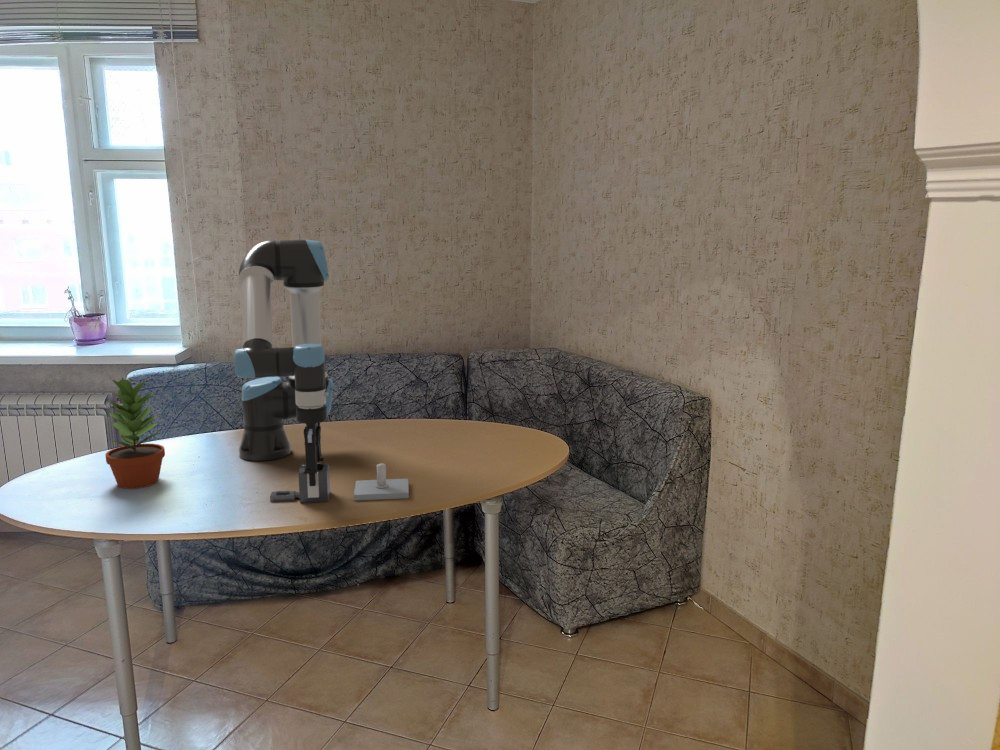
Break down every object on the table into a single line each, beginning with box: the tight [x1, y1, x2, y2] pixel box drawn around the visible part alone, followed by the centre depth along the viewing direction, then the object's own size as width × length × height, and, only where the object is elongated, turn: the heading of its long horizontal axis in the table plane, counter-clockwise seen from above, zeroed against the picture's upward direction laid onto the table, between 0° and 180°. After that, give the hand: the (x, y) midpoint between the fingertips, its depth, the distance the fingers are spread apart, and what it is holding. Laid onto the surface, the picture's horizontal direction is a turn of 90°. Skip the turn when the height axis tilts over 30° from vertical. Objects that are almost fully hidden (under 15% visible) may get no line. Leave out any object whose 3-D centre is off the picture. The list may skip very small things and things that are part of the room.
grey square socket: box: [269, 462, 331, 504], centre depth 195 cm, size 15×7×8 cm, turn 98°
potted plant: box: [105, 376, 166, 490], centre depth 204 cm, size 15×15×30 cm
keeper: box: [353, 462, 410, 501], centre depth 200 cm, size 14×11×8 cm
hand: (315, 491), depth 196 cm, fingers closed on grey square socket, 7 cm apart
